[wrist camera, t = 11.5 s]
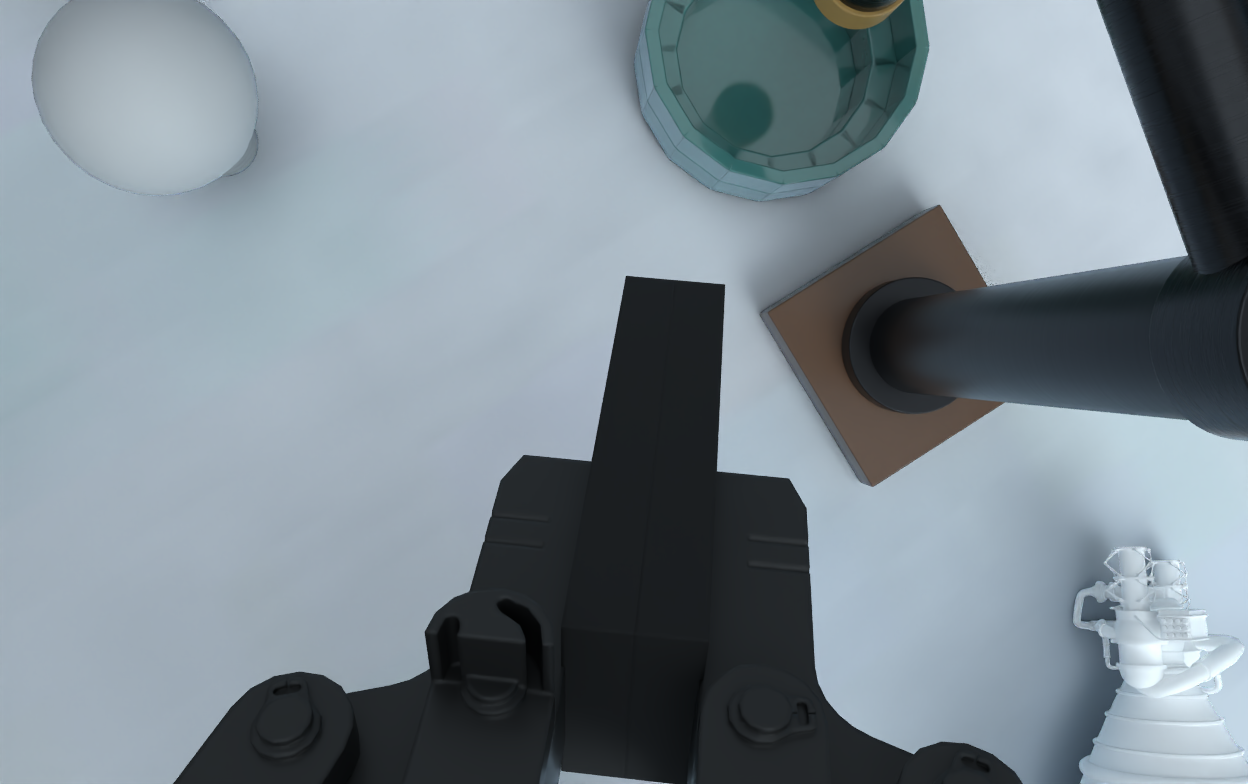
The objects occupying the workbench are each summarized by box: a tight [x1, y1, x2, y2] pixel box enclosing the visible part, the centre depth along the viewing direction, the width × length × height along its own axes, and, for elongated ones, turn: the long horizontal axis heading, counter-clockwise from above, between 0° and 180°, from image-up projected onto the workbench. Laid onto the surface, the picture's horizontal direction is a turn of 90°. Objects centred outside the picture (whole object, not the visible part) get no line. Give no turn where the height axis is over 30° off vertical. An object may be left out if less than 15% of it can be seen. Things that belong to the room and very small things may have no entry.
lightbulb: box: [32, 0, 258, 196], centre depth 33 cm, size 6×6×11 cm
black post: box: [760, 205, 1188, 487], centre depth 31 cm, size 8×8×20 cm
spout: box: [814, 0, 1248, 441], centre depth 25 cm, size 16×4×14 cm, turn 22°
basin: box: [634, 0, 929, 201], centre depth 38 cm, size 10×10×4 cm
